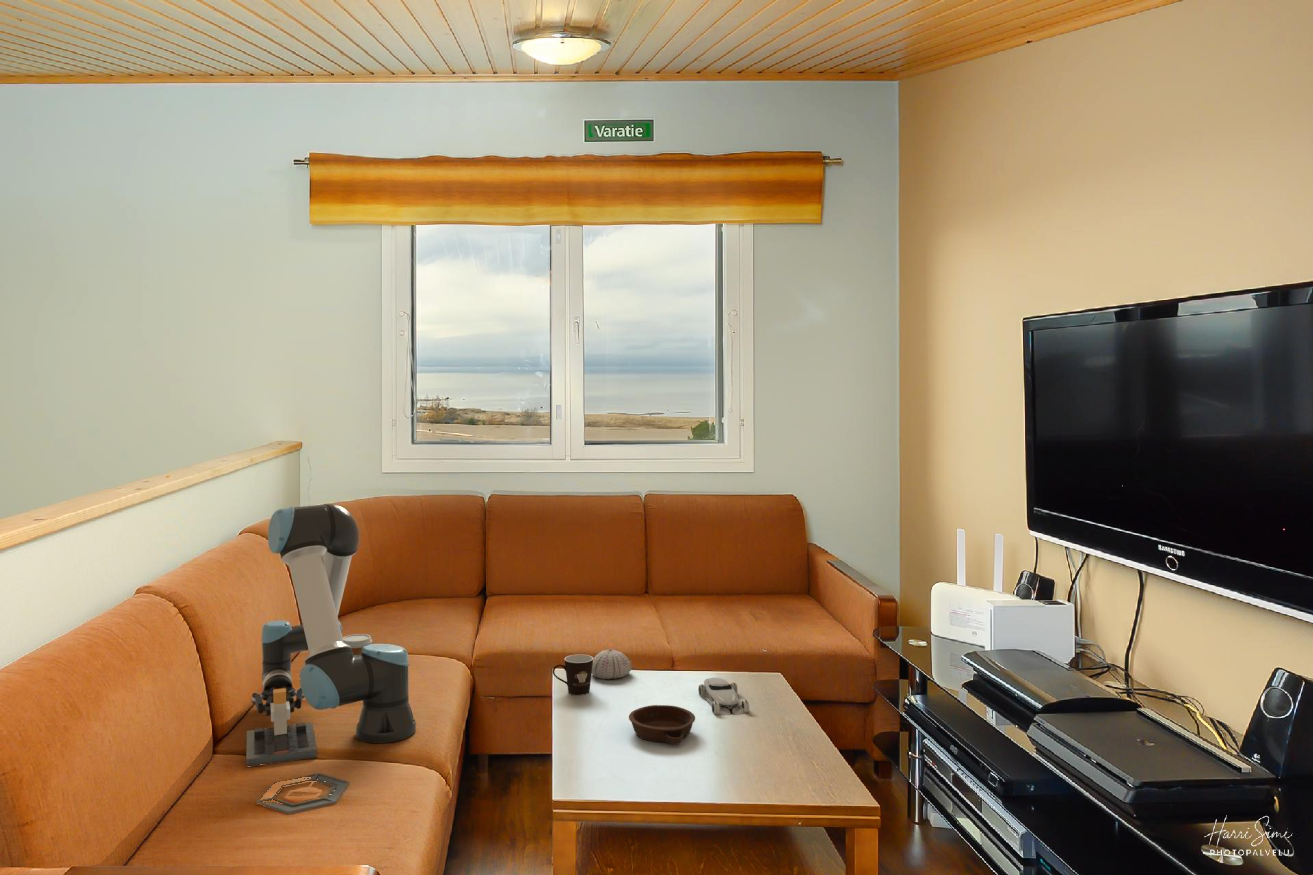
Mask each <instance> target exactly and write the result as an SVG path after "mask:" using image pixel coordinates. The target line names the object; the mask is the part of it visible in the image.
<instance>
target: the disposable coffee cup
mask: <svg viewBox="0 0 1313 875" xmlns="http://www.w3.org/2000/svg"><path fill="white" fill-rule="evenodd" d="M342 638H343V642H344V643H345V644H347V645H349V646H351V648H352V652H353V655H359V654H362V652H361V650H362V648H363V647H364V646H366V645H370V644H372V642H373V639H372V637H371V635H370V634H366V633H356V634H349V635H346V636H342Z"/></svg>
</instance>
